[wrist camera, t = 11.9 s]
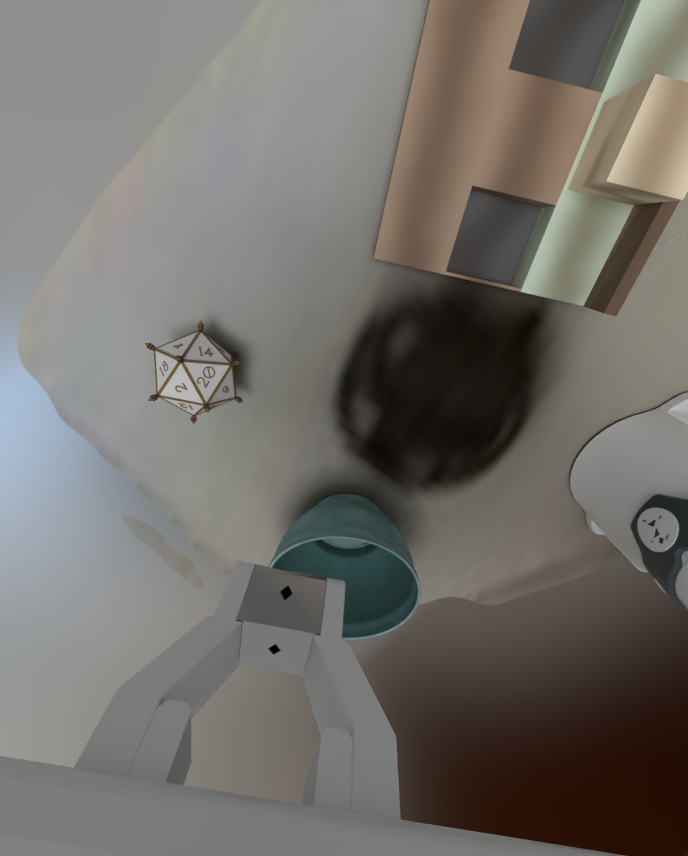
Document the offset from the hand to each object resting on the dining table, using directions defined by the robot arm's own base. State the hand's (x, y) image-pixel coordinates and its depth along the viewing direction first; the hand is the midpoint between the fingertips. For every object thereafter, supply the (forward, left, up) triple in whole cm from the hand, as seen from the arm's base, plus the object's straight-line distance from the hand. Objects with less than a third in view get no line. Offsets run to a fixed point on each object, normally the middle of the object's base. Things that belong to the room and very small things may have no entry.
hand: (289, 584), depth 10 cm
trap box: (-11, -16, -29) cm, 35 cm away
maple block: (-16, -17, -26) cm, 35 cm away
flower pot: (-5, +24, -29) cm, 38 cm away
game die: (+13, +6, -29) cm, 33 cm away
